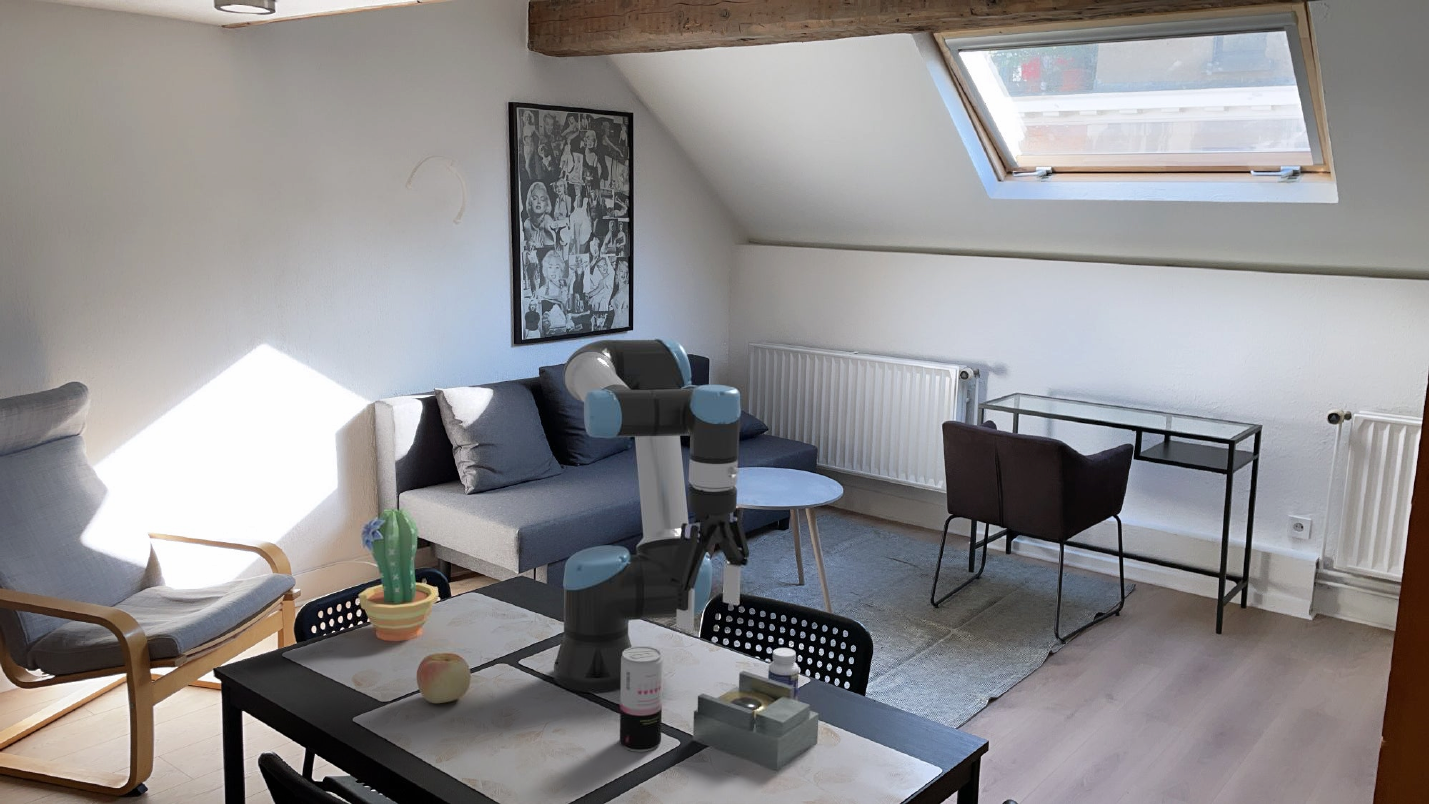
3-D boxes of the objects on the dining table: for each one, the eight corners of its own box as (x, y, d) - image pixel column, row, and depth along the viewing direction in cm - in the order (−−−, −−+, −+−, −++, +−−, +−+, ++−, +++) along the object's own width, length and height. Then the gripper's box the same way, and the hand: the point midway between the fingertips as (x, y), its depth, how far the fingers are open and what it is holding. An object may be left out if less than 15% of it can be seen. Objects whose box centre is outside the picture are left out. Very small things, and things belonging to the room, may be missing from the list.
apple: (408, 700, 189) (407, 655, 187) (452, 685, 195) (451, 642, 194) (436, 716, 183) (436, 670, 182) (481, 700, 189) (481, 656, 188)
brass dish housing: (691, 741, 177) (692, 694, 175) (737, 714, 187) (738, 669, 186) (775, 772, 167) (777, 722, 166) (818, 741, 178) (820, 694, 176)
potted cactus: (367, 619, 226) (364, 500, 222) (444, 618, 227) (442, 500, 223) (351, 648, 210) (347, 521, 206) (433, 646, 212) (432, 520, 208)
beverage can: (614, 737, 177) (615, 648, 175) (652, 731, 180) (654, 643, 177) (627, 755, 171) (629, 664, 169) (666, 748, 174) (668, 658, 171)
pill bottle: (795, 708, 190) (797, 659, 188) (765, 704, 191) (766, 656, 189) (799, 695, 195) (801, 648, 193) (769, 692, 196) (771, 645, 194)
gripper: (688, 506, 159) (684, 645, 162) (773, 474, 179) (768, 598, 183) (646, 498, 163) (643, 634, 166) (734, 467, 183) (729, 588, 187)
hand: (708, 615), depth 175 cm, fingers open, 13 cm apart
